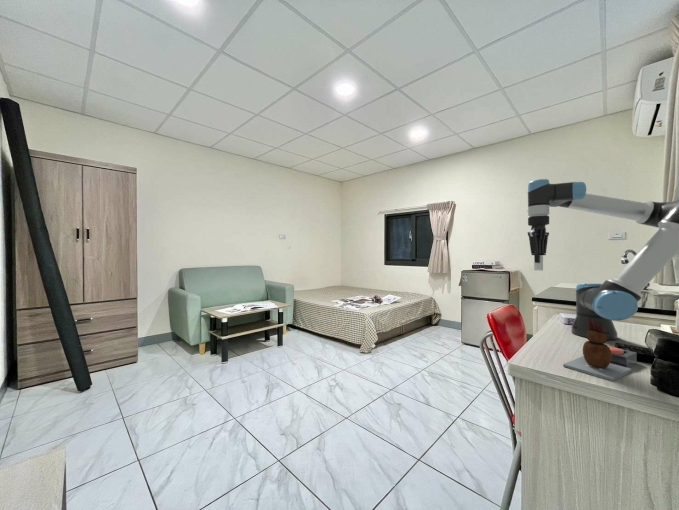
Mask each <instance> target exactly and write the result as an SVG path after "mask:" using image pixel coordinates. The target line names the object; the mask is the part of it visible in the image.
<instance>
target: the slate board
mask: <svg viewBox="0 0 679 510" xmlns="http://www.w3.org/2000/svg"><path fill="white" fill-rule="evenodd" d="M562 366H563V367H564V368H567V369H570V370H574V371H577V372H580V373H583V374H587V375H591V376H594V377H597V378H600V379H604V380H607V381H611V382H615V381H616V380H619V379H620V378H622V377H624V376H625V375H627V374H629V373H631V372H632V368H631V367H628V368H627V367H623V366H619V365H615V364H611V363H610V364H609V365H608V367H606V368H597V367H593V366H591V365H589V364H588V363H587V362H586V360H585V358H584V355H583V356H580V357H576V358H575V359H573V360H569V361H567V362H565V363H563V365H562Z"/></svg>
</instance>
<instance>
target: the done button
mask: <svg viewBox="0 0 679 510" xmlns="http://www.w3.org/2000/svg"><path fill="white" fill-rule="evenodd" d="M609 348H610V350H611V353H615V354H619V355H623V354H624V351H623V350H624V349H623V348H618V347H615V346H609ZM622 349H623V350H622Z"/></svg>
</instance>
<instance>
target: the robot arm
mask: <svg viewBox="0 0 679 510" xmlns="http://www.w3.org/2000/svg"><path fill="white" fill-rule="evenodd" d="M550 207H551V208H556V207H560V208H568V209H572V210H578V211H583V212H587V213H588V212H589V213H592V214H593V213H594V214H598V215H605V216H611V217H614V218H615V217H616V218H619V219H627V220H631V221H635V222H636V224H638V225H643V226H644V225H645V226H649V227H654V228H658V230H657V231H656V232H655V233H654V234H653V236H652V237H651V238H650V239H649V240H648V241H647V242H646V243H645V244H644V245H643V246H642V247H641V249H640V250H638V251H637V253H636V254H635V255H634V256H633V257H632V258H631V259H630V261H628V263H627V264H626V265H625V266H624V267H623V268H622V269H621V270H620V272H618V273H617V275H615V277H614V278H610V279H609V278H608V279H606V280H605V281H604V282H603V283H591V282H590V283H583V282H582V283H577V284H576V288H575V297H576V299H575V303H576V304H575V305H576V306H575V309H576V311H575V312H576V316H575V318H574V321H573V323H572V324H571V325H572V326H571V333H572V334H574V335H577V336H579V337H584V338H587V332H588V331H589V318H591V321H592V324H593V326H594V321H595V320H596V323H597V327H598V324H600V327H603V329H604V333H605V334H606V336H607V341H615V340H617V339H618V331H617V329H616V326H615V324H614V321H625V320H628V319H630V318H632V317H633V316H635V314H636V313H637V311H638V308H639V305H638V302H639V301H641V300H642V298H643V295H642V290H644V289H645V287H646V286H647V285H648V284H649V283H651V281H652V280H653V279H654V278H655V277H657V275H658V274H659V273H660V272H661V271H662V270H663V269H664V268H665V267H666V266H667V264H669V262H670V261H671V260H672V259H673V258H674V257H675V256H676V255H677V254H678V253H679V199H678V200H674V201H673V200H672V201H667V202H666V201H665V202H664V201H663V202H662V201H661V202H657V201H651V200H650V201H648V200H647V201H646V202H641V201H634V200H630V199H629V200H628V199H621V198H617V197H611V196H605V195H598V194H592V193H587V185H586V183H585V182H584V181H570V182H561V183H550V180H549V179H548V178H547V179H546V178H541V179H535V180H531V181H530V182H529V183H528V185H527V213H528V214H527V216H528V217H527V225H528V226H529V227H531V228H530V231H527V236H528V240H529V247H530V254H531V256H534V257H533V259H534V260H533V261H534V262H533V264H534V265H533V266H534V267H533V270H534V271H540V272H541V271H544V256H546V255H547V254H546V253H547V247H548V240H549V239H548V238H549V235H550V232H547V228H546V226H548V225H550V216H549V215H550Z"/></svg>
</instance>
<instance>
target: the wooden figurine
mask: <svg viewBox="0 0 679 510" xmlns="http://www.w3.org/2000/svg"><path fill="white" fill-rule="evenodd" d="M586 339H587V340H586V341H585V342H584V343H583V344H582V355H583V356H584V358H585V360H586V362H587V363H588V364H589V365H591V366H593V367H597V368H606V367H608V365H609V364H610V362H611V359H612V353H611V350H610V348H609V347H610V346H609V347H608V345H607V344H606V343H607V342H608V340H607V336H606V334H605V333H604V329H603V327H600V324H598V327H597V323H596V320H595V321H594V326H593V324H592V321H591V318H589V331H588V332H587V337H586Z"/></svg>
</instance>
